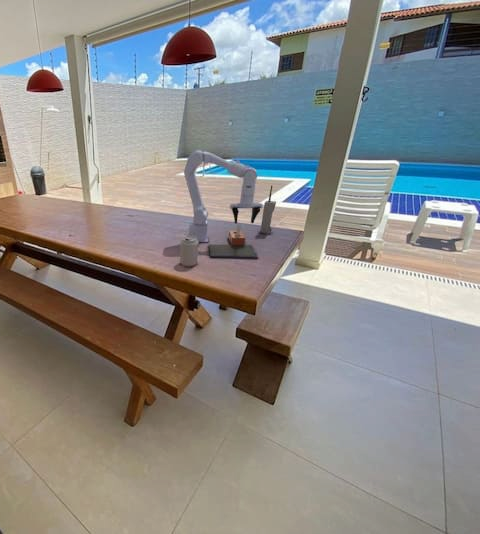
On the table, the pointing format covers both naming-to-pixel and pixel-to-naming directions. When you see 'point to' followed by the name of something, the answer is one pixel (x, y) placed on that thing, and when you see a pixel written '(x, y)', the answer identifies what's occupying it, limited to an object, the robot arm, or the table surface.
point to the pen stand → (236, 238)
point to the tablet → (232, 251)
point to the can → (189, 251)
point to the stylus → (238, 230)
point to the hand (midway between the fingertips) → (243, 222)
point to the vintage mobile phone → (267, 215)
